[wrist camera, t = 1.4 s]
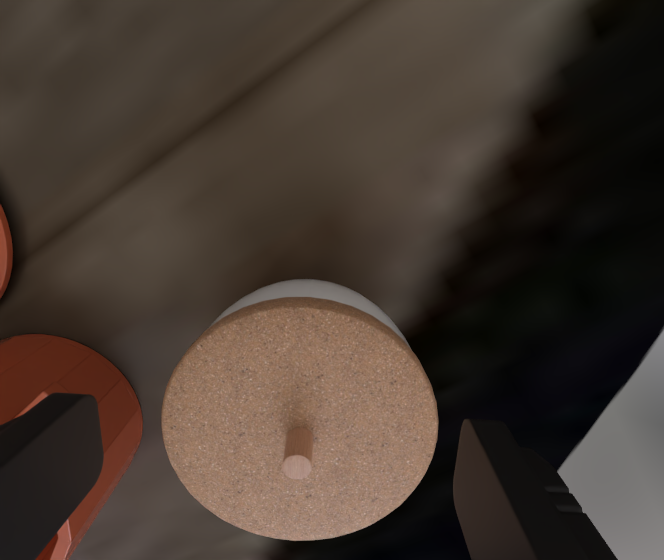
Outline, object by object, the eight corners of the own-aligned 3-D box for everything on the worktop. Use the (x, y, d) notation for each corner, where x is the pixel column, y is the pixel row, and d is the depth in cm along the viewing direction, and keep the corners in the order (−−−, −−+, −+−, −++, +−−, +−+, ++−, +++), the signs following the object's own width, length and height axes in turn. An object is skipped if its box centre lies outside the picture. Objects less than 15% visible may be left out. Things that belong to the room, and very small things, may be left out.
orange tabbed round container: (-95, 430, 29) (-264, 538, 20) (61, 269, 25) (-66, 323, 17) (47, 531, 31) (-51, 661, 23) (205, 398, 28) (155, 496, 20)
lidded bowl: (215, 421, 29) (149, 576, 18) (212, 247, 25) (127, 313, 14) (392, 431, 29) (429, 588, 18) (415, 260, 25) (477, 334, 15)
